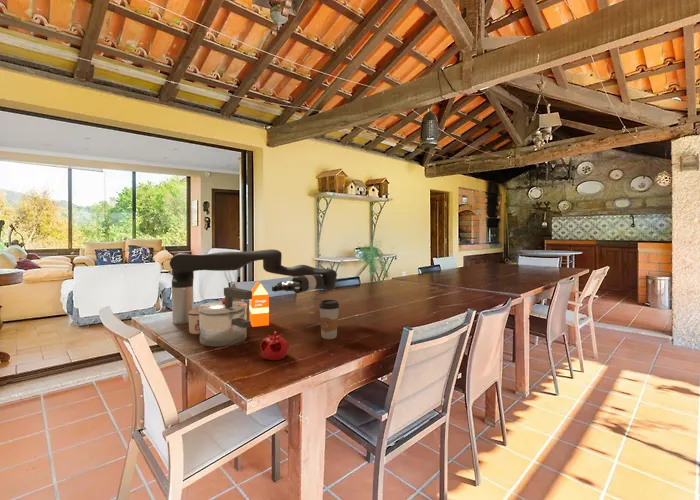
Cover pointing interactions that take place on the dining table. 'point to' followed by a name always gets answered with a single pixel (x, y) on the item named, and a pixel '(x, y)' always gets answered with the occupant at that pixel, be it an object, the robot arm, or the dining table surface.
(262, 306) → the orange juice
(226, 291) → the cooker lid
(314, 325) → the dining table surface
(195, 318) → the teacup with lid
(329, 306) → the coffee cup
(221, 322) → the cooker pot
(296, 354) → the dining table surface
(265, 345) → the pomegranate
